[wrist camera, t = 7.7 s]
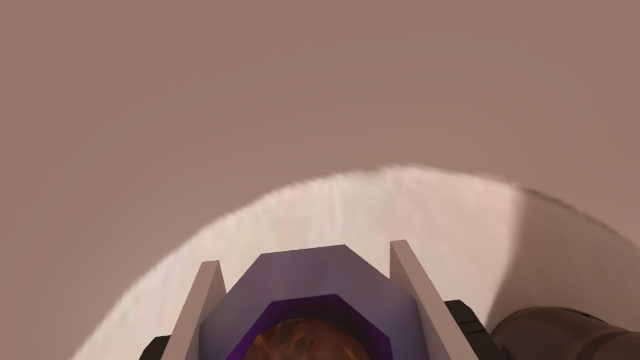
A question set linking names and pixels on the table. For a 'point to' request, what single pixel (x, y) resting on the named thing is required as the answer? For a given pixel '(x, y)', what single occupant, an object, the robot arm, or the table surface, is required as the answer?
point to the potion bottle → (313, 312)
